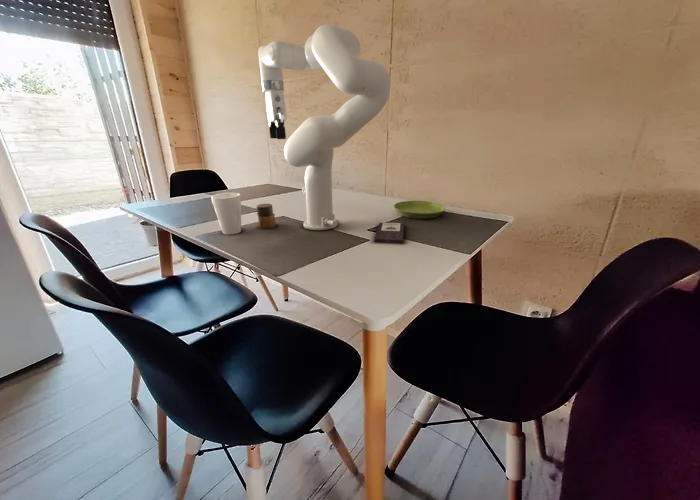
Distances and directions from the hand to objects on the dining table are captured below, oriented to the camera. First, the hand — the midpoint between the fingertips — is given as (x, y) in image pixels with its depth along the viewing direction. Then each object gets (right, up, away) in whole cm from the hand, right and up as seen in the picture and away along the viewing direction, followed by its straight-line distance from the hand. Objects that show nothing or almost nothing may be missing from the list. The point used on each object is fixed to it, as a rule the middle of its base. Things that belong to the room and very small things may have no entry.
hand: (277, 138), depth 117 cm
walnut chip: (-4, -29, -2) cm, 29 cm away
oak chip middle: (-4, -31, -1) cm, 31 cm away
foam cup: (-15, -35, -6) cm, 39 cm away
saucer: (+56, -27, +12) cm, 63 cm away
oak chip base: (-4, -33, 0) cm, 33 cm away
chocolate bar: (+41, -36, -10) cm, 56 cm away
